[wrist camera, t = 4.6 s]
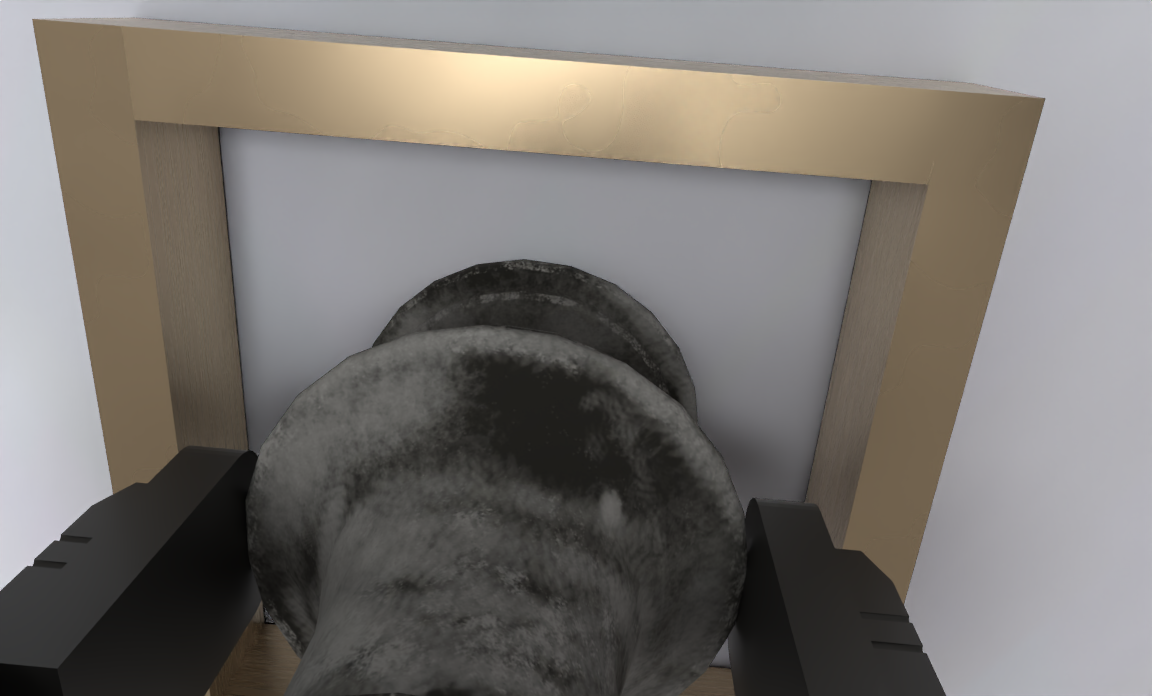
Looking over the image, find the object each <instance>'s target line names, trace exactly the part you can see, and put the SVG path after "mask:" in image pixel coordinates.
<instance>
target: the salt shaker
mask: <svg viewBox="0 0 1152 696" xmlns="http://www.w3.org/2000/svg"><path fill="white" fill-rule="evenodd" d="M245 506H246V526H247V544H248V558H249V562H250V565H251V569H252V572H253V575H254V577H255V580H256V583H257V586H258V589H259V592H260V595H261V598H262V601H263V604H264V607H265V609H266V610H267V612H268V613H269V615H270V616H271V618H272V619H273V621H274V622H275V624H276V625H277V627H278V628H279V630H280V631H281V633H282V634H283V636H284V637H285V639H286V640H287V642H288V643H289V645H290V646H291V648H292V649H293V651H294V652H295V654H296V655H297V656H298V657H299V658H300V659H301V661H300V663H299V665H298V667H297V669H296V671H295V673H294V675H293V677H292V679H291V681H290V683H289V685H288V687H287V689H286V691H285V693H284V695H283V696H679V695H680V694H681V693H682V692H683V691H684V690H685V689H686V688H688V687H689V686H690V685H691V684H692V683H693V682H694V681H696V680H697V679H698V678H699V677H700V676H701V675H702V674H703V673H705V672H706V670H707V669H708V667H709V666H710V664H711V662H712V661H713V659H714V658H715V656H716V654H717V653H718V651H719V650H720V648H721V647H722V645H723V643H724V642H725V640H726V639H727V637H728V636H729V634H730V632H731V631H732V629H733V628H734V626H735V622H736V619H737V615H738V610H739V606H740V601H741V596H742V591H743V587H744V582H745V577H746V570H747V561H748V560H747V544H746V527H745V516H744V512H743V509H742V506H741V504H740V501H739V499H738V496H737V494H736V491H735V489H734V486H733V483H732V481H731V478H730V476H729V473H728V471H727V468H726V466H725V463H724V461H723V458H722V456H721V454H720V453H719V452H718V451H717V449H716V448H715V447H714V445H713V444H712V443H711V442H710V440H709V439H708V438H707V437H706V435H705V434H704V433H703V431H702V430H701V429H700V428H699V426H698V421H697V409H696V397H695V388H694V385H693V383H692V380H691V378H690V375H689V372H688V370H687V367H686V365H685V362H684V360H683V357H682V355H681V352H680V349H679V347H678V346H677V345H676V344H675V342H674V341H673V340H672V338H671V337H670V336H669V334H668V333H667V332H666V330H665V329H664V328H663V327H662V325H661V324H660V323H659V321H658V320H657V319H656V317H655V316H654V315H653V314H652V312H650V311H649V310H648V309H646V308H645V307H644V306H642V305H641V304H640V303H638V302H637V301H636V300H635V299H633V298H632V297H631V296H629V295H628V294H627V293H625V292H624V291H623V290H621V289H620V288H619V287H617V286H616V285H615V284H612V283H610V282H607V281H605V280H603V279H600V278H598V277H595V276H593V275H591V274H588V273H586V272H583V271H581V270H579V269H576V268H574V267H572V266H565V265H558V264H551V263H545V262H538V261H531V260H515V261H506V262H496V263H487V264H478V265H475V266H472V267H470V268H467V269H465V270H462V271H459V272H457V273H454V274H452V275H449V276H447V277H444V278H442V279H439V280H436V281H434V282H433V283H432V284H430V285H429V286H428V287H426V288H425V289H424V290H422V291H421V292H420V293H418V294H417V295H416V296H415V297H413V298H412V299H411V300H409V301H408V302H407V303H405V304H404V305H403V306H401V307H400V308H399V310H398V311H397V312H396V314H395V315H394V316H393V318H392V319H391V320H390V322H389V323H388V325H387V326H386V327H385V329H384V330H383V331H382V333H381V334H380V336H379V337H378V338H377V340H376V341H375V342H374V344H373V346H372V348H370V349H367V350H364V351H362V352H359V353H357V354H354V355H351V356H349V357H348V358H346V359H345V360H344V361H342V362H341V363H340V364H338V365H337V366H336V367H334V368H333V369H332V370H330V371H329V372H328V373H327V374H325V375H324V376H323V377H321V378H320V379H319V380H317V381H316V382H315V383H313V384H312V385H311V386H309V387H308V388H307V389H305V390H304V391H303V392H301V393H300V394H299V395H298V396H297V397H296V398H295V400H294V401H293V403H292V404H291V405H290V407H289V408H288V410H287V411H286V413H285V414H284V415H283V417H282V418H281V420H280V421H279V422H278V424H277V425H276V427H275V428H274V429H273V431H272V432H271V434H270V435H269V437H268V438H267V439H266V441H265V442H264V444H263V445H262V446H261V450H260V453H259V456H258V460H257V463H256V466H255V470H254V473H253V476H252V480H251V483H250V486H249V489H248V493H247V496H246V499H245Z"/></svg>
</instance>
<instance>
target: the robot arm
mask: <svg viewBox="0 0 1152 696" xmlns="http://www.w3.org/2000/svg"><path fill="white" fill-rule="evenodd" d="M257 460H258V456H257V455H256V454H255V453H254V452H253V451H248V450H237V449H226V448H215V447H204V446H193V445H191V446H187V447H185V448H183V449H182V450H181V451H180V452H179V453H178V454H177V455H176V456H175V457H174V458H173V459H172V460H171V461H170V462H169V463H168V464H167V465H166V466H165V467H164V468H163V469H162V470H161V471H160V472H158V473H157V474H156V475H155V476H154V477H153V478H152V479H151V480H150V481H149V482H148V483H137V482H136V483H134V484H132V485H130V486H128V487H126V488H125V489H123V490H121V491H119V492H117V493H115V494H113V495H111V496H109V497H107V498H105V499H104V500H102V501H100V502H98V503H96V504H94V505H92V506H91V507H90V508H89V509H88V510H87V511H86V512H85V513H84V514H83V515H81V516H80V517H79V518H78V519H77V520H76V521H75V522H74V523H73V524H72V525H71V526H70V527H69V528H67V529H66V530H65V531H64V532H63V533H62V534H61V538H60V541H54V542H52V543H51V544H50V545H49V546H48V547H47V548H46V549H45V550H44V551H43V552H42V553H41V554H40V555H38V556H37V557H36V558H35V559H34V564H33V566H27V567H26V568H25V569H23V570H22V571H21V572H20V573H19V574H18V575H17V576H16V577H15V578H14V579H13V580H12V581H11V582H9V583H8V584H7V585H6V586H5V587H4V588H3V589H2V590H1V591H0V696H205V694H206V693H207V691H208V690H209V688H210V686H211V685H212V683H213V681H214V680H215V678H216V677H217V675H218V673H219V672H220V670H221V668H222V667H223V665H224V663H225V662H226V660H227V659H228V657H229V655H230V654H231V652H232V650H233V649H234V647H235V645H236V644H237V642H238V641H239V639H240V637H241V636H242V634H243V632H244V631H245V629H246V627H247V626H248V624H249V623H250V621H251V619H252V618H253V616H254V614H255V613H256V611H257V609H258V607H259V605H260V603H261V600H262V598H261V595H260V592H259V589H258V586H257V583H256V580H255V577H254V575H253V572H252V569H251V565H250V562H249V558H248V544H247V526H246V506H245V499H246V496H247V493H248V489H249V486H250V483H251V480H252V476H253V473H254V470H255V466H256V463H257ZM745 527H746V544H747V560H748V561H747V570H746V577H745V582H744V587H743V591H742V596H741V601H740V606H739V610H738V615H737V619H736V622H735V626H734V628H733V629H732V631H731V632H730V634H729V636H728V650H729V659H730V665H731V672H732V678H733V684H734V690H735V696H946V694H945V692H944V690H943V688H942V686H941V684H940V682H939V679H938V677H937V675H936V673H935V671H934V669H933V667H932V664H931V662H930V660H929V658H928V656H927V654H926V653H923V651H922V647H923V645H922V643H921V641H920V639H919V637H918V634H917V632H916V630H915V628H914V626H913V624H912V623H909V615H908V613H907V611H906V609H905V607H904V605H903V602H902V600H901V598H900V596H899V594H898V592H897V590H896V587H895V585H894V583H893V581H892V580H891V579H890V578H889V577H888V576H886V575H885V574H884V573H883V572H882V571H881V570H880V569H879V568H878V567H877V566H876V565H875V564H874V563H873V562H872V561H871V560H870V559H869V558H868V557H867V556H866V555H865V554H864V553H863V552H862V551H858V550H848V549H837V548H835V547H834V545H833V542H832V540H831V537H830V535H829V532H828V529H827V527H826V524H825V522H824V519H823V517H822V514H821V511H820V509H819V507H818V506H817V505H816V504H815V503H805V502H794V501H783V500H772V499H761V498H752V499H751V500H750V502H749V505H748V508H747V512H746V517H745Z"/></svg>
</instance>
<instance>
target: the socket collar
mask: <svg viewBox="0 0 1152 696" xmlns="http://www.w3.org/2000/svg"><path fill="white" fill-rule="evenodd" d="M32 20H33V26H34V32H35V38H36V44H37V50H38V56H39V61H40V67H41V73H42V79H43V85H44V91H45V97H46V102H47V108H48V114H49V120H50V126H51V132H52V138H53V143H54V149H55V155H56V161H57V167H58V173H59V179H60V184H61V190H62V196H63V202H64V208H65V214H66V220H67V225H68V231H69V237H70V243H71V249H72V255H73V261H74V266H75V272H76V278H77V284H78V290H79V296H80V301H81V307H82V313H83V319H84V325H85V331H86V337H87V342H88V348H89V354H90V360H91V366H92V372H93V378H94V383H95V389H96V395H97V401H98V407H99V413H100V419H101V424H102V430H103V436H104V442H105V448H106V454H107V460H108V465H109V471H110V477H111V483H112V489H113V494H115V493H117V492H119V491H121V490H123V489H125V488H126V487H128V486H130V485H132V484H134V483H136V482H137V483H148V482H149V481H150V480H151V479H152V478H153V477H154V476H155V475H156V474H157V473H158V472H160V471H161V470H162V469H163V468H164V467H165V466H166V465H167V464H168V463H169V462H170V461H171V460H172V459H173V458H174V457H175V456H176V455H177V454H178V453H179V452H180V451H181V450H182V449H183V448H185V447H187V446H191V445H193V446H204V447H215V448H226V449H237V450H248V442H247V432H246V421H245V410H244V400H243V389H242V379H241V368H240V358H239V347H238V336H237V326H236V315H235V305H234V294H233V283H232V273H231V262H230V252H229V241H228V231H227V220H226V209H225V199H224V188H223V178H222V167H221V157H220V146H219V135H218V127H226V128H239V129H251V130H263V131H276V132H288V133H300V134H312V135H325V136H337V137H349V138H362V139H374V140H386V141H398V142H411V143H423V144H435V145H448V146H460V147H472V148H484V149H497V150H509V151H521V152H534V153H546V154H558V155H571V156H583V157H595V158H607V159H620V160H632V161H644V162H657V163H669V164H681V165H693V166H706V167H718V168H730V169H743V170H755V171H767V172H779V173H792V174H804V175H816V176H829V177H841V178H853V179H865V180H872V184H871V189H870V194H869V198H868V203H867V208H866V213H865V218H864V222H863V227H862V232H861V237H860V241H859V246H858V251H857V256H856V261H855V265H854V270H853V275H852V280H851V284H850V289H849V294H848V299H847V303H846V308H845V313H844V318H843V323H842V327H841V332H840V337H839V342H838V346H837V351H836V356H835V361H834V366H833V370H832V375H831V380H830V385H829V389H828V394H827V399H826V404H825V409H824V413H823V418H822V423H821V428H820V432H819V437H818V442H817V447H816V451H815V456H814V461H813V466H812V471H811V475H810V480H809V485H808V490H807V494H806V499H805V503H815V504H816V505H817V506H818V507H819V509H820V511H821V514H822V517H823V519H824V522H825V524H826V527H827V529H828V532H829V535H830V537H831V540H832V542H833V545H834V547H835V548H837V549H848V550H858V551H862V552H863V553H864V554H865V555H866V556H867V557H868V558H869V559H870V560H871V561H872V562H873V563H874V564H875V565H876V566H877V567H878V568H879V569H880V570H881V571H882V572H883V573H884V574H885V575H886V576H888V577H889V578H890V579H891V580H892V581H893V583H894V585H895V587H896V590H897V592H898V594H899V596H900V598H901V600H902V602H903V605H904V602H905V598H906V595H907V591H908V588H909V584H910V580H911V577H912V573H913V570H914V566H915V563H916V559H917V555H918V552H919V548H920V545H921V541H922V537H923V534H924V530H925V527H926V523H927V520H928V516H929V512H930V509H931V505H932V502H933V498H934V495H935V491H936V487H937V484H938V480H939V477H940V473H941V470H942V466H943V462H944V459H945V455H946V452H947V448H948V445H949V441H950V437H951V434H952V430H953V427H954V423H955V419H956V416H957V412H958V409H959V405H960V402H961V398H962V394H963V391H964V387H965V384H966V380H967V377H968V373H969V369H970V366H971V362H972V359H973V355H974V352H975V348H976V344H977V341H978V337H979V334H980V330H981V327H982V323H983V319H984V316H985V312H986V309H987V305H988V302H989V298H990V294H991V291H992V287H993V284H994V280H995V276H996V273H997V269H998V266H999V262H1000V259H1001V255H1002V251H1003V248H1004V244H1005V241H1006V237H1007V234H1008V230H1009V226H1010V223H1011V219H1012V216H1013V212H1014V209H1015V205H1016V201H1017V198H1018V194H1019V191H1020V187H1021V184H1022V180H1023V176H1024V173H1025V169H1026V166H1027V162H1028V158H1029V155H1030V151H1031V148H1032V144H1033V141H1034V137H1035V133H1036V130H1037V126H1038V123H1039V119H1040V116H1041V112H1042V108H1043V105H1044V101H1045V98H1040V97H1036V96H1031V95H1026V94H1021V93H1016V92H1012V91H1007V90H1002V89H997V88H992V87H988V86H983V85H978V84H973V83H963V82H950V81H937V80H924V79H911V78H899V77H886V76H873V75H860V74H848V73H835V72H822V71H809V70H796V69H784V68H771V67H758V66H745V65H732V64H720V63H707V62H694V61H681V60H668V59H656V58H643V57H630V56H617V55H605V54H592V53H579V52H566V51H553V50H541V49H528V48H515V47H502V46H489V45H477V44H464V43H451V42H438V41H425V40H413V39H400V38H387V37H374V36H362V35H349V34H336V33H323V32H310V31H298V30H285V29H272V28H259V27H246V26H234V25H221V24H208V23H195V22H183V21H170V20H157V19H144V18H72V19H32ZM300 661H301V659H300V658H299V657H298V656H297V655H296V654H295V652H294V651H293V649H292V648H291V646H290V645H289V643H288V642H287V640H286V639H285V637H284V636H283V634H282V633H281V631H280V630H279V628H278V627H277V625H272V624H265V622H264V611H263V601H262V600H261V603H260V605H259V607H258V609H257V611H256V613H255V614H254V616H253V618H252V619H251V621H250V623H249V624H248V626H247V627H246V629H245V631H244V632H243V634H242V636H241V637H240V639H239V641H238V642H237V644H236V645H235V647H234V649H233V650H232V652H231V654H230V655H229V657H228V659H227V660H226V662H225V663H224V665H223V667H222V668H221V670H220V672H219V673H218V675H217V677H216V678H215V680H214V681H213V683H212V685H211V686H210V688H209V690H208V691H207V693H206V694H205V696H283V695H284V693H285V691H286V689H287V687H288V685H289V683H290V681H291V679H292V677H293V675H294V673H295V671H296V669H297V667H298V665H299V663H300ZM679 696H735V690H734V684H733V678H732V672H731V669H728V668H717V667H708V669H707V670H706V672H705V673H703V674H702V675H701V676H700V677H699V678H698V679H697V680H696V681H694V682H693V683H692V684H691V685H690V686H689V687H688V688H686V689H685V690H684V691H683V692H682V693H681V694H680V695H679Z"/></svg>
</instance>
